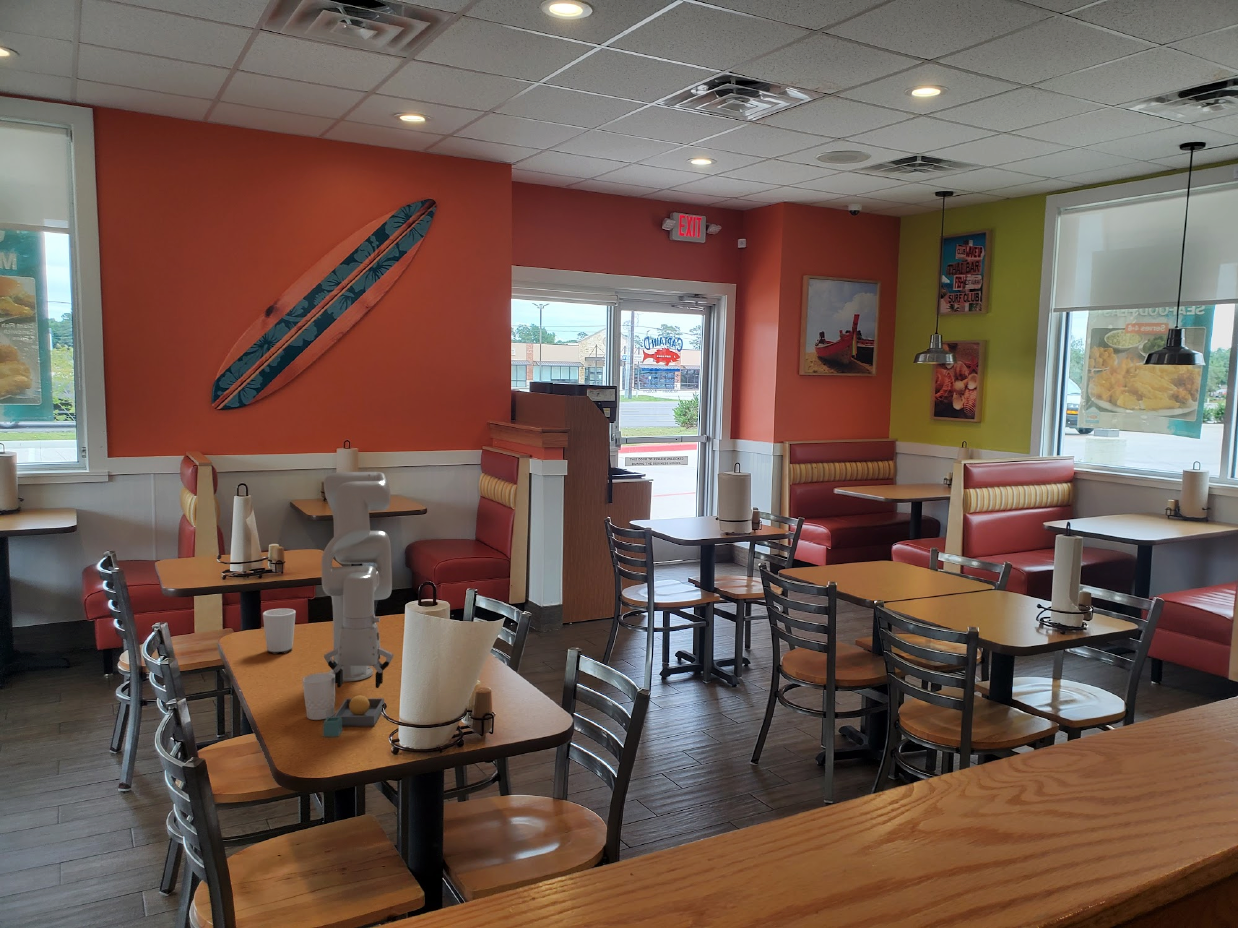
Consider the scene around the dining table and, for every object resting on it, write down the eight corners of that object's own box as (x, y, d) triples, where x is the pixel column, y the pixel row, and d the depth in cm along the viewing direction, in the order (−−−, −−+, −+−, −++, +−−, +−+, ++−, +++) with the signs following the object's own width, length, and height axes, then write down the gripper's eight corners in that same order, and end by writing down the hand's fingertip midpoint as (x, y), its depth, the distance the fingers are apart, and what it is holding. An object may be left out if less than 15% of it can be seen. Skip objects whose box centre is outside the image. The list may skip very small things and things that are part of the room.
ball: (351, 711, 228) (351, 692, 228) (371, 710, 228) (371, 692, 228) (347, 718, 223) (346, 699, 223) (367, 718, 224) (367, 699, 223)
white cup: (327, 721, 222) (324, 682, 221) (298, 720, 223) (296, 681, 222) (342, 710, 229) (340, 673, 229) (315, 709, 231) (312, 672, 230)
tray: (345, 708, 232) (345, 698, 232) (384, 707, 233) (384, 698, 233) (333, 726, 219) (333, 716, 219) (374, 726, 220) (374, 716, 220)
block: (327, 730, 216) (327, 716, 216) (342, 730, 217) (342, 716, 216) (323, 736, 213) (323, 722, 212) (338, 736, 213) (338, 721, 213)
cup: (284, 644, 289) (284, 606, 288) (302, 650, 283) (302, 611, 282) (256, 651, 281) (256, 612, 280) (274, 657, 275) (274, 617, 274)
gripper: (395, 617, 229) (395, 680, 231) (328, 616, 227) (328, 680, 229) (390, 626, 221) (390, 691, 223) (320, 625, 220) (320, 691, 222)
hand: (359, 685), depth 226 cm, fingers open, 9 cm apart
